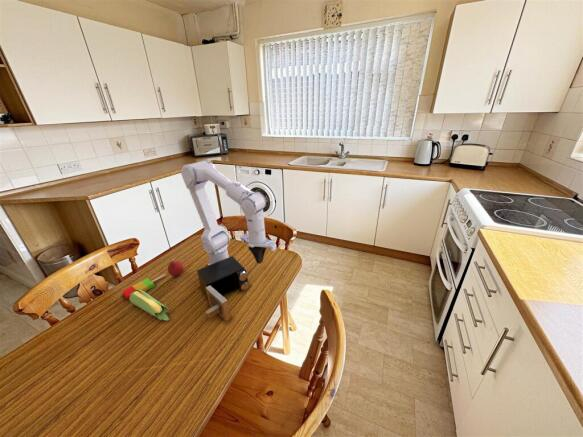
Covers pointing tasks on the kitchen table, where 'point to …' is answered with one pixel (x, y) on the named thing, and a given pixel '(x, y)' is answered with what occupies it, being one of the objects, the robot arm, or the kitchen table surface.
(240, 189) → the robot arm
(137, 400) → the kitchen table surface
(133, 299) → the edible corn
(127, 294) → the popsicle
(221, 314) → the door
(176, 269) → the onion
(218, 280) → the microwave
